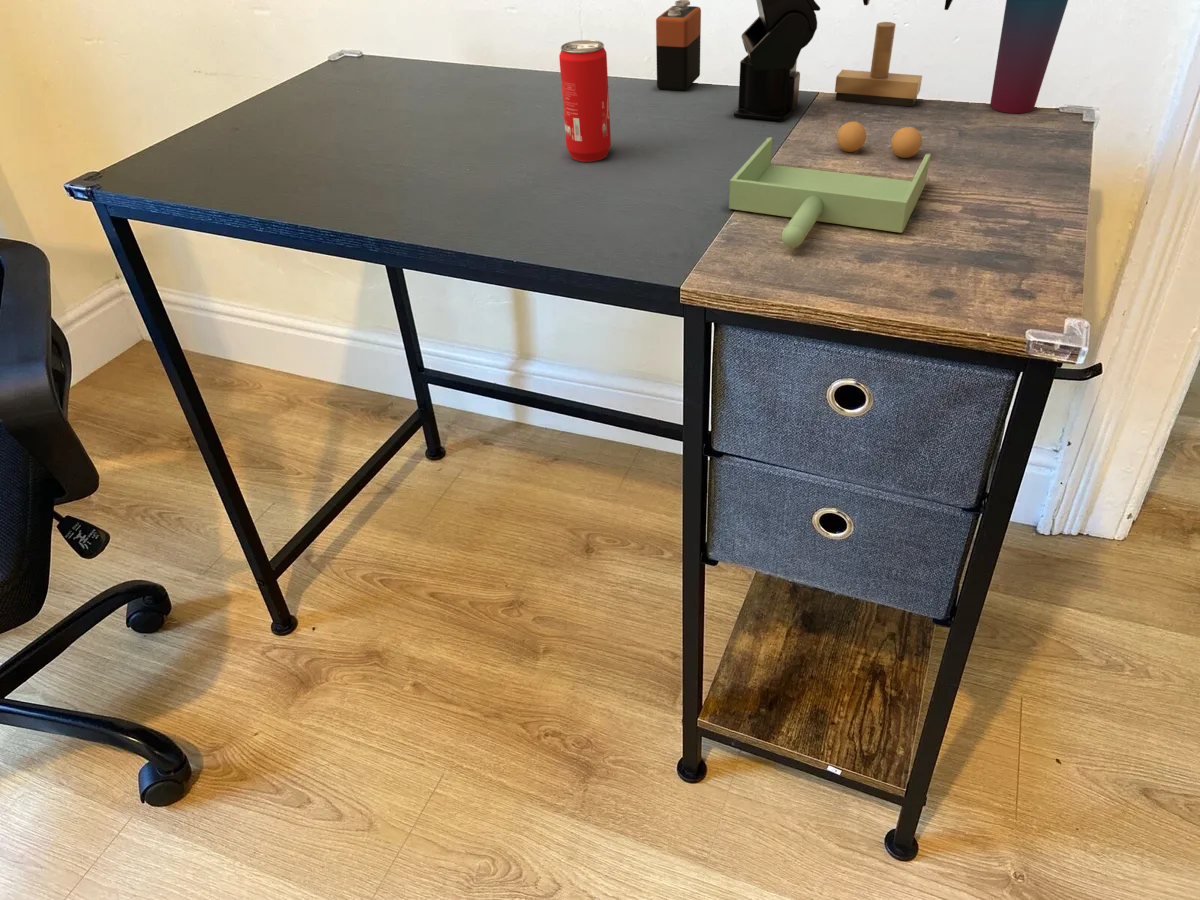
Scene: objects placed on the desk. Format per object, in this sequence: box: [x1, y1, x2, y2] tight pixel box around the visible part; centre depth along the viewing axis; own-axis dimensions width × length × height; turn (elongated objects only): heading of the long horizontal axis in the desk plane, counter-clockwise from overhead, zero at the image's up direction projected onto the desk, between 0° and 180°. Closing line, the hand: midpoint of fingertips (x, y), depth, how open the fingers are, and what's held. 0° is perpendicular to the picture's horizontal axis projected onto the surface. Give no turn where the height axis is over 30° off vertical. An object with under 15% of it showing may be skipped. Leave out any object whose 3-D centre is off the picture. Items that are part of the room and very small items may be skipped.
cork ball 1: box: [836, 121, 867, 153], centre depth 98 cm, size 3×3×3 cm
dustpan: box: [728, 136, 931, 249], centre depth 86 cm, size 20×17×3 cm
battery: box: [655, 0, 702, 91], centre depth 119 cm, size 4×7×10 cm, turn 158°
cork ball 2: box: [890, 126, 923, 159], centre depth 96 cm, size 3×3×3 cm
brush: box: [834, 21, 923, 108], centre depth 109 cm, size 10×3×9 cm, turn 64°
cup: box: [989, 0, 1069, 114], centre depth 102 cm, size 7×7×15 cm
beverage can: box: [558, 39, 612, 163], centre depth 99 cm, size 5×5×12 cm
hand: (905, 6), depth 103 cm, fingers open, 9 cm apart
